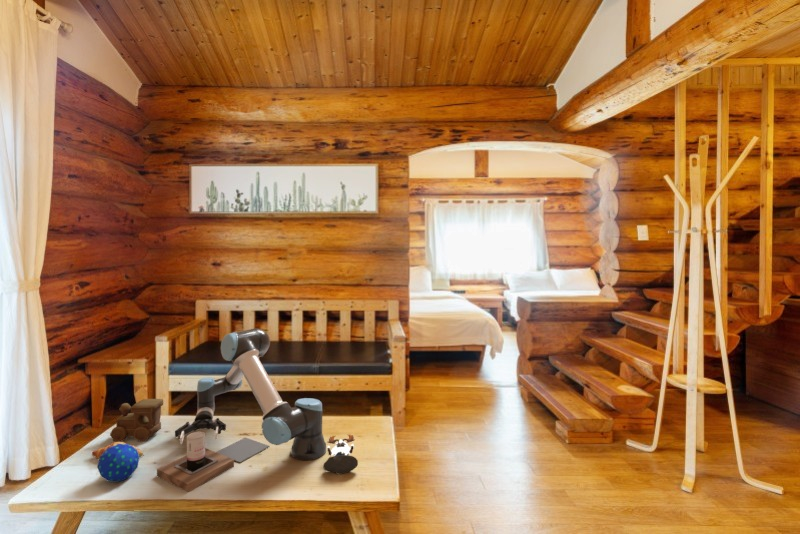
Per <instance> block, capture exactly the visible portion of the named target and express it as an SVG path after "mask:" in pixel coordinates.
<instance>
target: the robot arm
mask: <svg viewBox="0 0 800 534" xmlns="http://www.w3.org/2000/svg"><path fill="white" fill-rule="evenodd" d="M270 338H271V337H270V336H269V334H268V333H267V332H266V331H265V330H264V329H261V328H251V329H245V330H241V331H232V332H231V333H227V334H225V335H224V336H223V338H222V339H221V344H220V353H221V356H222V358H223V360H225V361H228V362H230V361H231V362H232V364H233V366H231V368H230V370H229V371H228V372H227V374H226V375H225V376H223V377H220V378H217V379H215V378H213V377H210V376H209V377H203V378H200V379H199V380H198V381H197V386H196V387H197V389H196V390H197V392H196V393H197V394H196V395H197V410H196V411H197V412H196V414H195V418H194V420H193V422H191V423H190V421H186V422H185V423H184V424H183V425H182V426H180V427H179V428H177V429H176V430H175V431H174V438H178V440H179V445H182V444H183V441H184V438H185V436H186V435H189V434H191V433H193V432H197V431H198V430H205V429H207V430H212V431H215V437H214V439H215V440H218V438H219V437H218V436H219V435H220V434H222V431H226V428H227V427H226V426H227V425H226V423H224V422H223V420H222V421H221V420H220V418H219V417H217V418H216V419H215V420H213V418H214V413H215V410H216V404H215V397H216V396H219V395H221V394H225V393H228V392H231V391H236V390H237V389H239V388H241V387H242V384H243V378H244V379H245V380H246V382H247V384H248V386H249V388H250V390H251V392H252V394H253V396H254V397H255V399H256V401H257V404H258V405H259V407H260V408H261V411H262V412H263V415H262V418H261V419H262V423H261V429H262V430H261V433H262V435H263V437H264V439H265V441H267V442H268V443H269V444H271V445H275V446H280V445H283V444H285V443H288V442H289V441H291V440H293V441H292V444H291V448H290V449H291V450H290V454H291V456H292V457H293V458H294V459H296V460H299V461H311V460H315V459H319V458H321V457H322V456H324V455H325V454H326V452H327V444H326V443H327V442H325V438H324V434H323V403H322V401H320V400H319V399H317V398H310V397H309V398H307V397H304V398H298V399H297V400H296V401H295V402H294V407H291V405H290V403H289V402H287V401H283V399H282V397H281V396H280V394H279V392H278V390H277V388H276V387H275V386H274V383H273V382H272V379H271V378H270V376H269V375H268V373H267V372H268V371H266V369H265V367H264V366H263V363H262V362H261V360H260V357H264V356H265V354H266V353H267V351H268V350H269V348H270V346H271V339H270ZM324 453H325V454H324ZM323 454H324V455H323Z"/></svg>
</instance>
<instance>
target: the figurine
mask: <svg viewBox="0 0 800 534" xmlns="http://www.w3.org/2000/svg"><path fill="white" fill-rule="evenodd" d="M347 436H348V438H344V439H337V438H336V439H335V437H336V435H332V436H329V438H328V441H327V443H328V444H334V446H333V447H332V448H331V446H330V445H326V451H327V452H328V456H330V457H328V458H327V460H326V461H325V462H323V465H322V466H323V467H322V468H323V469H324V470H325V471H326V472H328V473H329V472H330V473H335V474H337V475H341V474H345V473H350V472H352V471H353V470H354V469H356V468H357V467H358V463H359V460H358V459H357V458H356V457H355V456H353V455H351V454H352V453H353V451H354V448H355V445H354V443H352V444H350V445H349V444H348V443H351V442H353V441H355V440H356V439H355V436H354V435H353V434H350V433H349V434H347ZM330 449H331V450H330Z"/></svg>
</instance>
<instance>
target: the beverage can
mask: <svg viewBox="0 0 800 534" xmlns="http://www.w3.org/2000/svg"><path fill="white" fill-rule="evenodd" d="M205 448H206V435H205V432H204V431H192V432H190V433H188V434H187V436H186V455H187V470H189V471H191V472H194V471H196V470H198V469H200V468H201V467H203V466H205Z"/></svg>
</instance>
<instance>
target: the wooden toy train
mask: <svg viewBox="0 0 800 534" xmlns="http://www.w3.org/2000/svg"><path fill="white" fill-rule="evenodd" d="M162 406H164V399H163V398H146V399H145V398H144V399H141V400H139V401H138V402H136V403H134V404H132V406H131V405H130V403H128V402H124V403H122V404H121V405H120V407H119V409H118V410H119V411H120V413H121V415H120V416H118V417H117V418H116V420H115V421H116V423H115V425H116V426H115V427H113V428H112V430H111V431H110V433H109V436H110V438H111V439H112V440H113V442H124V441H125V439H126V437H134V439H135V440H136V441H137V442H145V441H147V440H148V439H149V437H152V436H154V435H155V434H156V433H157V432H159V431H160V430H162V422H161V417H162V416H161V414H162ZM129 412H130V413H129Z"/></svg>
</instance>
